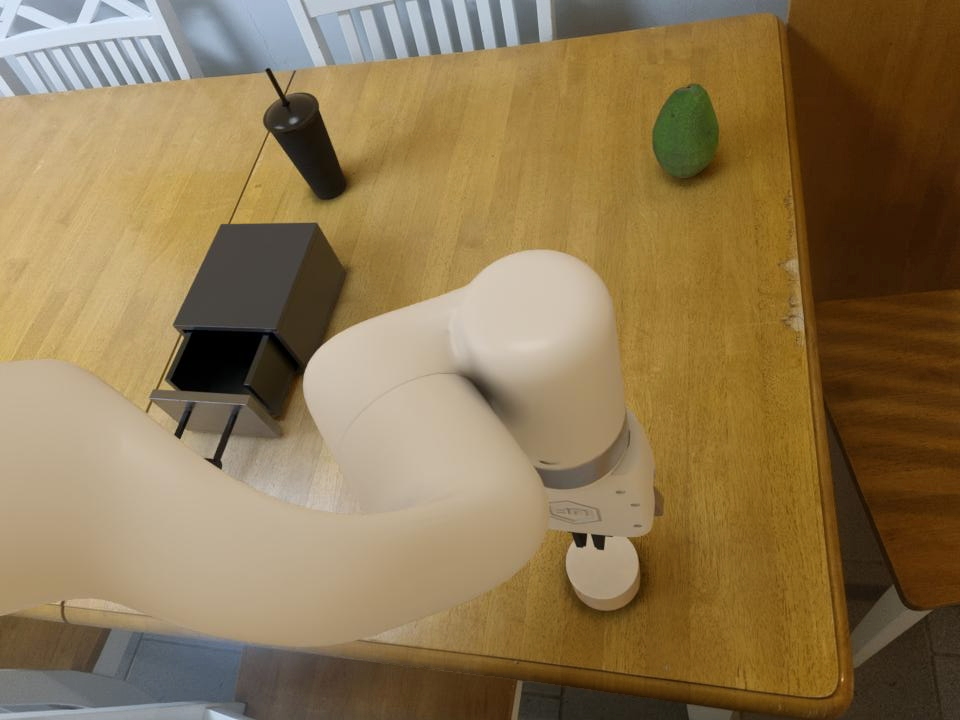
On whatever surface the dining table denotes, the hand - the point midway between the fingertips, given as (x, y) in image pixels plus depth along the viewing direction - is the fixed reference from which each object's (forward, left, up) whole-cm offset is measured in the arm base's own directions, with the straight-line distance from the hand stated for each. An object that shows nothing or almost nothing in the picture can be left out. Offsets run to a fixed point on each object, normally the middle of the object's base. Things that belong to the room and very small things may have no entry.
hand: (592, 530), depth 58 cm
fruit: (+48, +22, -12) cm, 54 cm away
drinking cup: (+22, +64, -12) cm, 69 cm away
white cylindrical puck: (0, 0, -12) cm, 12 cm away
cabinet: (+2, +52, -12) cm, 53 cm away
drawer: (-9, +45, -11) cm, 48 cm away
